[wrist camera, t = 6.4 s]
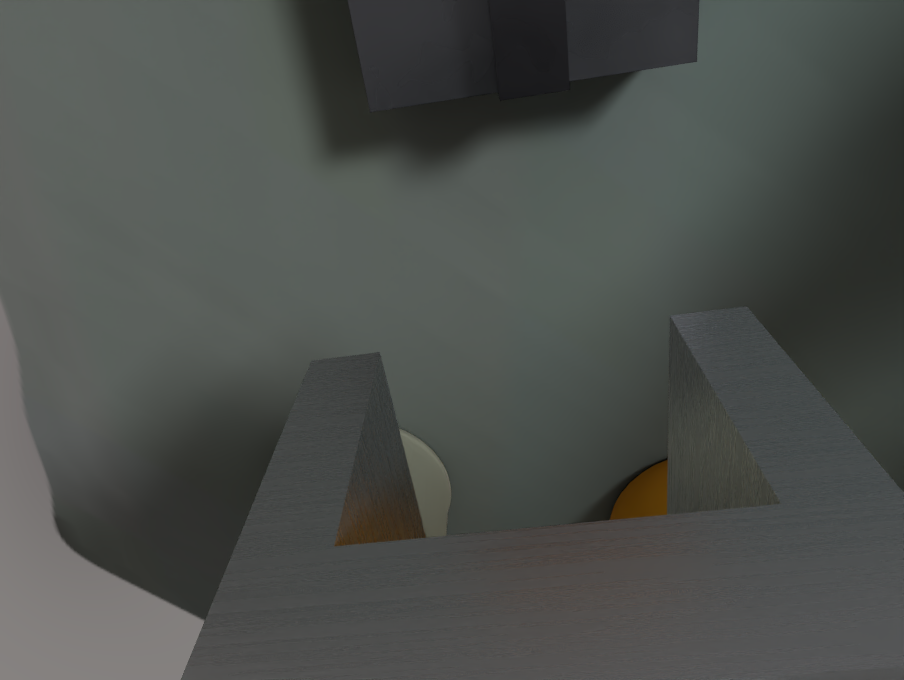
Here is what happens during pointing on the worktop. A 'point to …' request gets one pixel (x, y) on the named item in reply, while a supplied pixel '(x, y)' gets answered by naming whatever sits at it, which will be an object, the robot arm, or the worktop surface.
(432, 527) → the can
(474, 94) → the base
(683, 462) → the notched grey block
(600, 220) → the worktop surface
